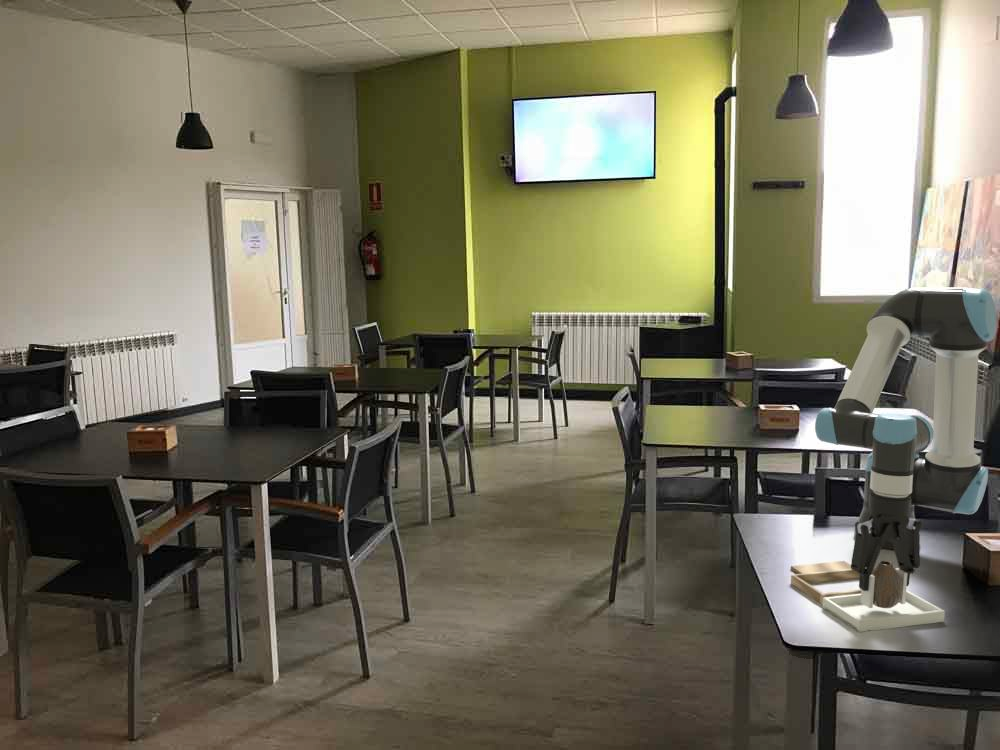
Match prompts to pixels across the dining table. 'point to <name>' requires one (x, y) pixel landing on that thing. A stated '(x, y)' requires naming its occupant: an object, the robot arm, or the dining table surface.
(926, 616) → the off-white tray
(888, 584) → the vase
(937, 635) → the dining table surface
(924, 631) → the dining table surface
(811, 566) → the lid
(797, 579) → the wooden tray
